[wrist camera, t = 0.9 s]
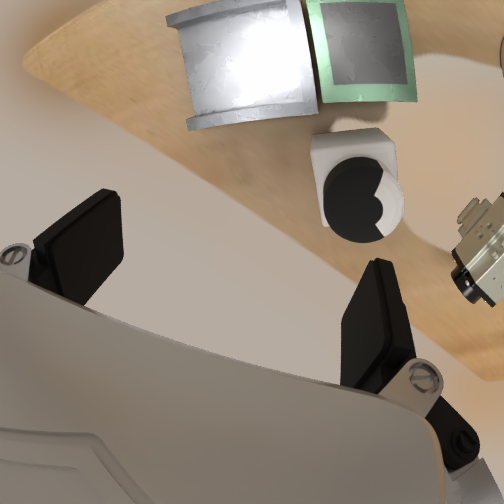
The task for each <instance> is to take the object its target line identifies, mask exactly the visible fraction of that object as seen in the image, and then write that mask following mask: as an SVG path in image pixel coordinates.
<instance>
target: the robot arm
mask: <svg viewBox="0 0 504 504" xmlns="http://www.w3.org/2000/svg"><path fill="white" fill-rule="evenodd" d="M501 65H502V71H503V77H504V39H503V43H502V48H501ZM121 221H122V220H121V200H120V197H119V196H118V194H117V192H116V191H112V190H108V189H101V190H99V191H98V192H96V193H95V194H93V195H92V196H90V197H89V198H88V199H86V200H85V201H84V202H82V203H81V204H79V205H78V206H77V207H75V208H74V209H72V210H71V211H70V212H68V213H67V214H66V215H64V216H63V217H62V218H60V219H59V220H58V221H56V222H55V223H54V224H53V225H51V226H50V227H49V228H47V229H46V230H45V231H44V232H43V233H41V234H40V235H39V236H37V237H36V238H35V239H34V240H33V243H34V247H35V248H34V249H33V250H32V251H31V248H30V247H29V245H27V244H23V243H16V244H13V245H10V246H8V247H6V248H4V249H3V250H2V251H1V252H0V504H504V500H503V497H502V494H501V492H500V490H499V488H498V486H497V484H496V482H495V480H494V478H493V476H492V474H491V472H490V470H489V468H488V466H487V464H486V462H485V461H484V459H483V458H481V459H480V460H479V458H478V453H479V450H480V442H479V438H478V435H477V433H476V432H475V430H474V429H473V428H472V427H471V426H470V425H469V424H468V423H467V422H466V421H465V420H464V419H463V418H462V417H461V415H460V414H459V413H458V412H457V411H456V410H455V409H454V408H453V407H451V405H450V404H449V403H448V402H447V401H446V400H445V399H444V398H443V397H442V396H441V395H440V394H441V392H442V390H443V378H442V375H441V373H440V372H439V370H438V369H437V368H436V367H435V366H434V365H433V364H432V363H430V362H429V361H427V360H424V359H420V358H416V352H415V347H414V342H413V337H412V333H411V328H410V323H409V319H408V315H407V310H406V306H405V304H404V303H403V301H402V297H401V293H400V289H399V285H398V281H397V278H396V274H395V270H394V267H393V263H392V262H391V261H387V260H384V259H380V258H376V259H375V260H374V261H372V260H370V261H369V263H368V265H367V267H366V269H365V271H364V273H363V276H362V278H361V280H360V282H359V284H358V286H357V288H356V290H355V292H354V295H353V296H352V299H351V301H350V303H349V305H348V307H347V309H346V311H345V313H344V315H343V317H342V321H341V378H340V385H337V384H332V383H327V382H323V381H318V380H313V379H310V378H306V377H301V376H297V375H293V374H289V373H285V372H280V371H277V370H273V369H268V368H265V367H261V366H257V365H253V364H250V363H246V362H243V361H239V360H236V359H232V358H229V357H225V356H222V355H219V354H215V353H212V352H209V351H206V350H202V349H199V348H196V347H193V346H189V345H186V344H184V343H181V342H178V341H174V340H172V339H169V338H166V337H163V336H160V335H157V334H154V333H152V332H149V331H146V330H143V329H141V328H138V327H135V326H133V325H130V324H127V323H125V322H122V321H120V320H117V319H114V318H112V317H109V316H107V315H104V314H102V313H100V312H97V311H94V310H92V309H90V308H87V307H85V306H84V305H85V304H86V303H87V301H88V300H89V299H90V298H91V297H92V295H93V294H94V293H95V292H96V291H97V289H98V288H99V287H100V286H101V285H102V283H103V282H104V281H105V280H106V279H107V277H108V276H109V275H110V274H111V273H112V272H113V271H114V270H115V269H116V267H117V266H118V265H119V264H120V263H121V261H122V260H123V256H124V250H123V237H122V222H121Z"/></svg>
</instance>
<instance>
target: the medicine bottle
mask: <svg viewBox="0 0 504 504" xmlns="http://www.w3.org/2000/svg"><path fill="white" fill-rule="evenodd" d="M310 156H311V161H312V166H313V172H314V177H315V183H316V189H317V195H318V201H319V207H320V214H321V220H322V224H323V226H325V227H329V226H330V227H331V229H332V230H333V231H334V232H335V233H336V234H338V235H339V236H341V237H342V238H344V239H346V240H349V241H352V242H357V243H369V242H374V241H377V240H380V239H382V238H384V237H386V236H387V235H388V234H390V233H391V232H392V231H393V230H394V229H395V228H396V227H397V225H398V224H399V222H400V220H401V218H402V215H403V212H404V195H403V192H402V189H401V187H400V185H399V184H398V174H397V162H396V151H395V144H394V142H393V141H392V140H391V139H390V138H389V137H388V136H387V135H386V134H384V133H383V132H382V131H381V130H380V129H379V128H367V129H358V130H348V131H339V132H331V133H324V134H316V135H313V136H312V139H311V150H310Z"/></svg>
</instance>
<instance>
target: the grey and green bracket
mask: <svg viewBox="0 0 504 504" xmlns="http://www.w3.org/2000/svg"><path fill="white" fill-rule="evenodd" d="M306 6H307V11H308V16H309V21H310V27H311V32H312V38H313V44H314V49H315V56H316V62H317V68H318V75H319V82H320V89H321V97H322V101H323V103H332V102H358V101H399V102H417V89H416V78H415V69H414V60H413V52H412V45H411V38H410V32H409V26H408V20H407V15H406V10H405V5H404V1H403V0H306ZM166 21H167V27H172V28H176V29H178V31H179V37H180V42H181V47H182V52H183V57H184V63H185V68H186V73H187V78H188V83H189V88H190V93H191V98H192V102H193V107H194V112H195V116H194V117H191V118H189V119H186V122H187V126H188V131H192V130H197V129H202V128H208V127H214V126H220V125H226V124H232V123H239V122H246V121H254V120H261V119H270V118H279V117H289V116H300V115H312V114H318V105H317V97H316V90H315V83H314V76H313V69H312V63H311V57H310V50H309V45H308V39H307V33H306V28H305V23H304V17H303V12H302V7H301V2H300V0H219V1H215V2H211V3H207V4H204V5H200V6H196V7H193V8H190V9H186V10H183V11H180V12H177V13H174V14H171V15H168V16H166Z"/></svg>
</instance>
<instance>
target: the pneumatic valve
mask: <svg viewBox="0 0 504 504" xmlns="http://www.w3.org/2000/svg"><path fill="white" fill-rule="evenodd" d="M457 223H458V224H461V223H463V225H462V226H461V227H460V228H459V230H458V231H459V233H460V234H461V235H462V237H463V239H462V241H461V242H460V243H459V244H458V245H457V246H456V247H455V248H454V249H453V250H452V251H451V252H452V256H453V258H454V259H453V260H454V262H455V263H457V265H458V266H457V267H456V268H455V269H454V270H453V271H452V272H451V277H452V279H453V281H454V283H455V284H456V286H457V287H458V289H459V290H460V292H461V293H462V294H463V295H464V296H465V298H466V299H467V300H468V301H469V302H471V303H472V304H475V303H476V302H477V301H478V300H479V299H480V298H481V297H482V298H483V300H484V301H485V303H488V304H489V305H490V306H491V307H492V308H493V307H494V306H495V305H496V304H497V303H498V302H499V301H500V300H501V299H502V298H503V297H504V193H503V192H502V193H501V195H500V196H499V197H498V199H497V200H496V201H495V202H494V203H493V205H492V204H491V203H490V202H489V201H488V200H487V199H484V200H483V202H482V203H481V204H479V199H478V198H475V199H474V198H473V199H472V200H471V202H470V203H469V204H468V205H467V206H466V208H465V209H464V210H463V211H462V213H461V214H460V215H459V216H458V220H457Z"/></svg>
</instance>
